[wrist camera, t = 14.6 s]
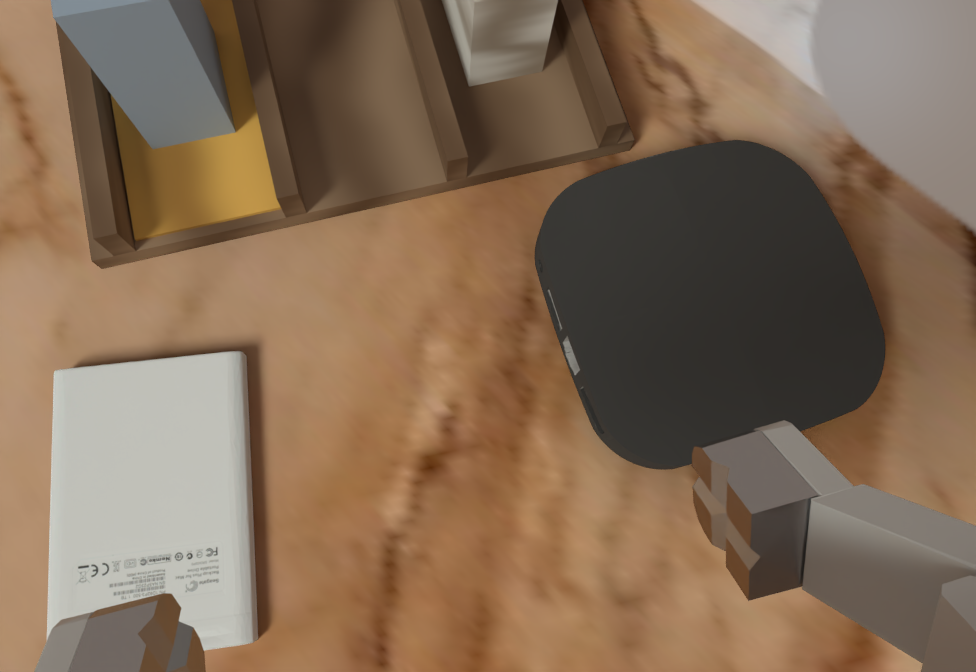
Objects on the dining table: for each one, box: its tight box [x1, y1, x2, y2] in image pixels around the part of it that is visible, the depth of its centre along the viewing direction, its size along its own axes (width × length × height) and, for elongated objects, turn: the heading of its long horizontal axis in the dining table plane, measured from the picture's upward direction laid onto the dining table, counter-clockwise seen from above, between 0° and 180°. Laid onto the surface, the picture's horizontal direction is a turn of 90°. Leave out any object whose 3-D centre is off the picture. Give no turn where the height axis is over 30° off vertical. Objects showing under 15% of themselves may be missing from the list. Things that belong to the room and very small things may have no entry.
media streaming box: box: [535, 140, 885, 469], centre depth 34 cm, size 15×15×3 cm
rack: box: [56, 0, 635, 269], centre depth 34 cm, size 27×16×7 cm, turn 106°
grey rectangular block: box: [51, 0, 236, 149], centre depth 30 cm, size 4×6×9 cm, turn 16°
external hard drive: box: [47, 351, 258, 650], centre depth 30 cm, size 2×8×12 cm
